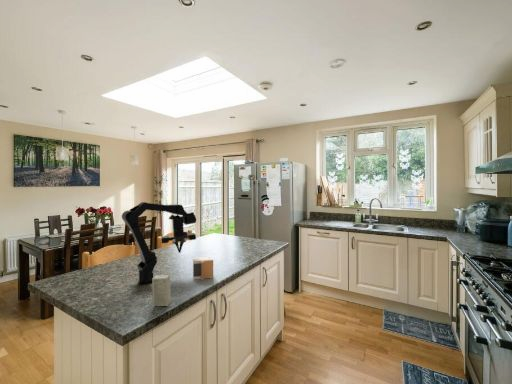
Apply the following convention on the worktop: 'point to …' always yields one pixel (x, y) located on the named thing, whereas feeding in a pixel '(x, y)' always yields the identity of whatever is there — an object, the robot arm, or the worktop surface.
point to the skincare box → (161, 290)
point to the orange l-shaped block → (206, 269)
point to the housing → (198, 267)
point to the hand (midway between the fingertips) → (179, 252)
